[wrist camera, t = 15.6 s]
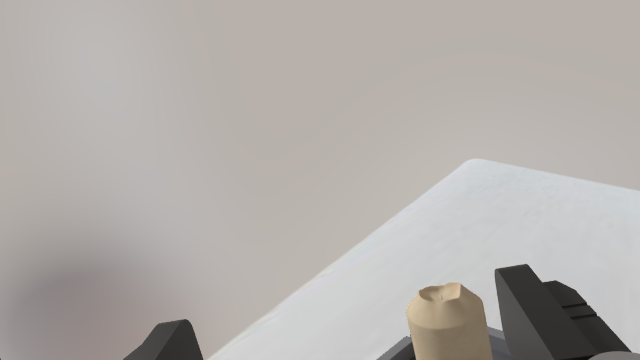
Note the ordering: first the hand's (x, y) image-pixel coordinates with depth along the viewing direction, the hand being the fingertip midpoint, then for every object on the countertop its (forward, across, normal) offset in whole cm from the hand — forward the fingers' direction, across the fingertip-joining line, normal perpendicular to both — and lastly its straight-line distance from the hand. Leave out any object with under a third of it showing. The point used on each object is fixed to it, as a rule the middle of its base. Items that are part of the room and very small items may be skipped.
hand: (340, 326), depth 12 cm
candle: (+20, -4, +21) cm, 29 cm away
